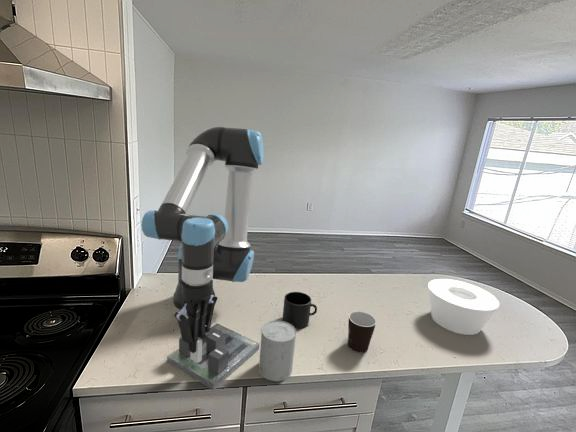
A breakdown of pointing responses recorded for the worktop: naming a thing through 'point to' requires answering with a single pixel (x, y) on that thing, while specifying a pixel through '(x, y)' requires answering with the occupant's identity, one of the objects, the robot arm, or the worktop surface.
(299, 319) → the mug
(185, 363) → the panel
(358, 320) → the dark brown tapered cylinder
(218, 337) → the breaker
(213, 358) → the breaker
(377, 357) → the worktop surface
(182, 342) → the block
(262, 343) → the grey stone cylinder
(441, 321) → the bowl
